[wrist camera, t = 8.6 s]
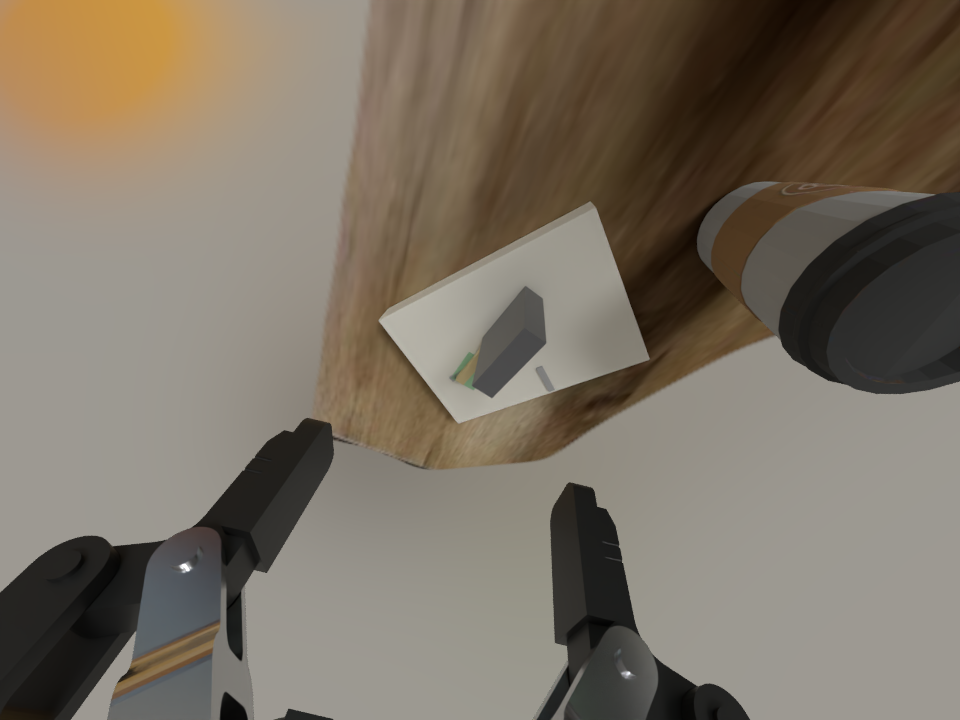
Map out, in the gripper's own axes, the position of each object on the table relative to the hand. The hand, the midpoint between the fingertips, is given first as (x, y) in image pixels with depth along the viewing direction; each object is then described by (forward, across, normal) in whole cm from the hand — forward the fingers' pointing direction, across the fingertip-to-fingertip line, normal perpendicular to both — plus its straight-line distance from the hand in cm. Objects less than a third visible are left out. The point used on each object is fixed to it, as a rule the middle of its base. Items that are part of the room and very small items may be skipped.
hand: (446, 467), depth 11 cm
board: (+21, -3, +6) cm, 22 cm away
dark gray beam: (+18, -1, +6) cm, 19 cm away
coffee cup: (+22, -17, -6) cm, 28 cm away
